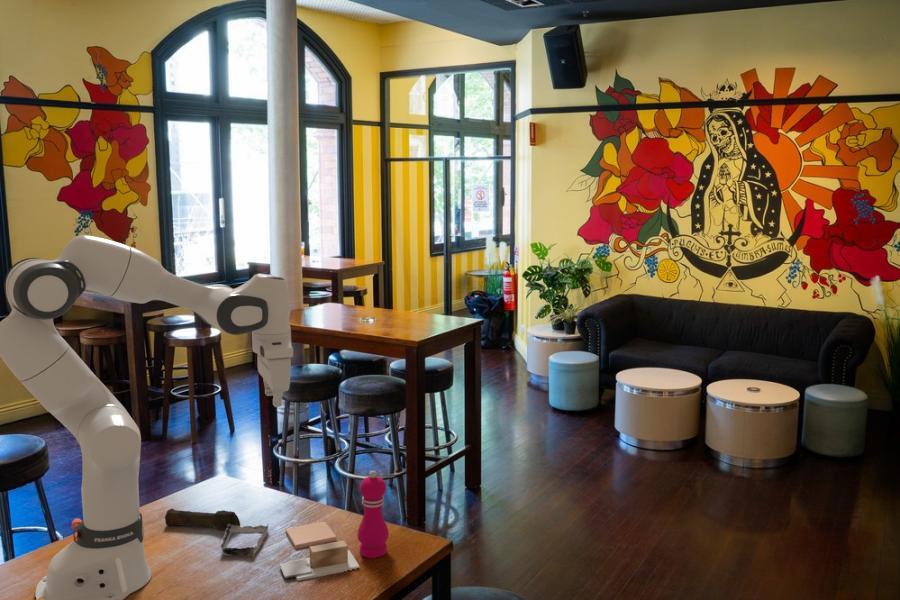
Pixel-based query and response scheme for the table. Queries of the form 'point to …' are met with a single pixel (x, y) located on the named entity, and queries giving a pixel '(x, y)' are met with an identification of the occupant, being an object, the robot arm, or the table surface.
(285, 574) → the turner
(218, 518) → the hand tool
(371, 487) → the pepper mill
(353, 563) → the pad
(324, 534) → the tile
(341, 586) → the table surface
